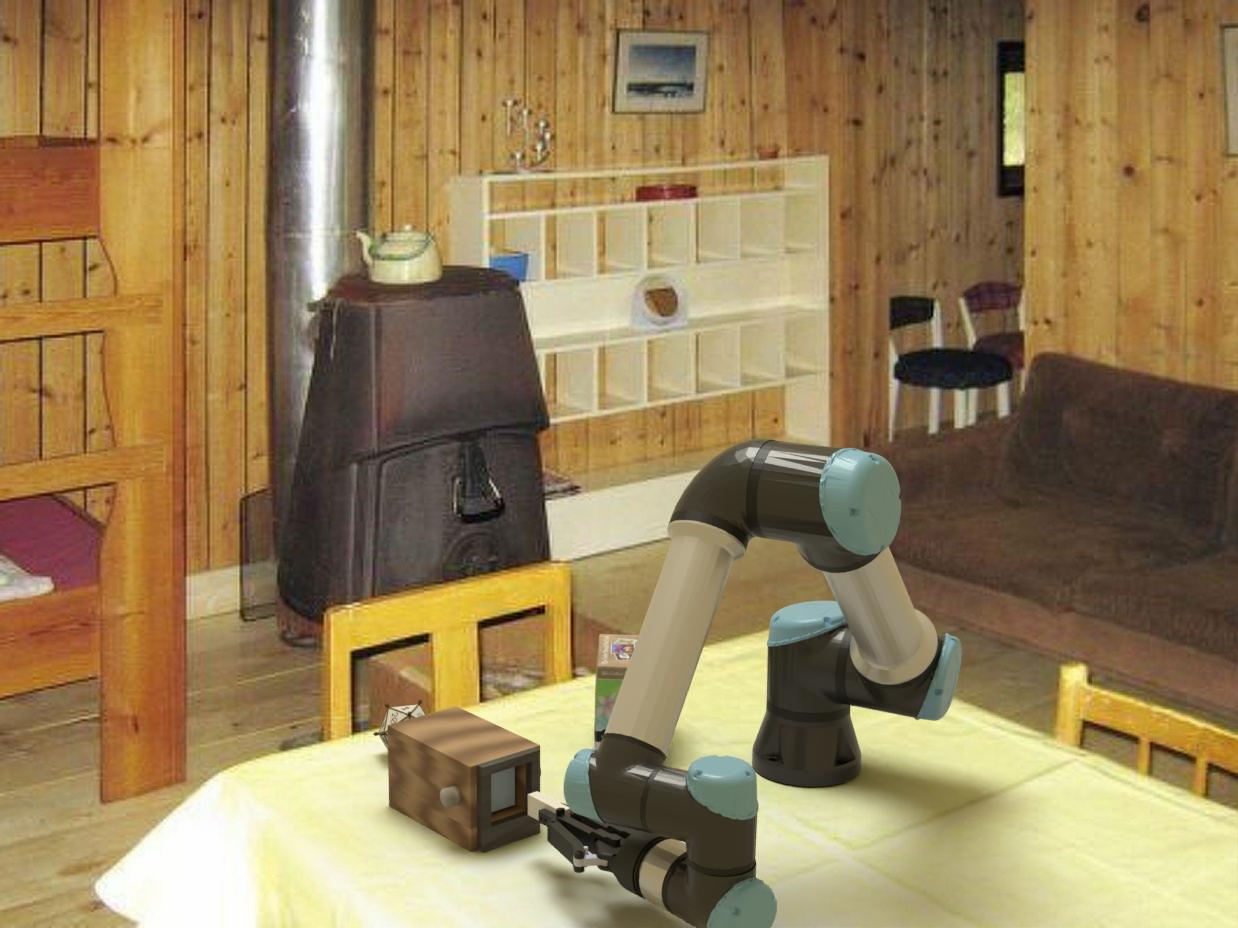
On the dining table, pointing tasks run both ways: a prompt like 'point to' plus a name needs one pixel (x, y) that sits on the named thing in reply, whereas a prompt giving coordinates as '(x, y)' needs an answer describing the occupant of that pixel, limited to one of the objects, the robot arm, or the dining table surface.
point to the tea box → (610, 677)
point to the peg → (502, 789)
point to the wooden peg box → (461, 777)
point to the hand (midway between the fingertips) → (532, 802)
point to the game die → (398, 718)
